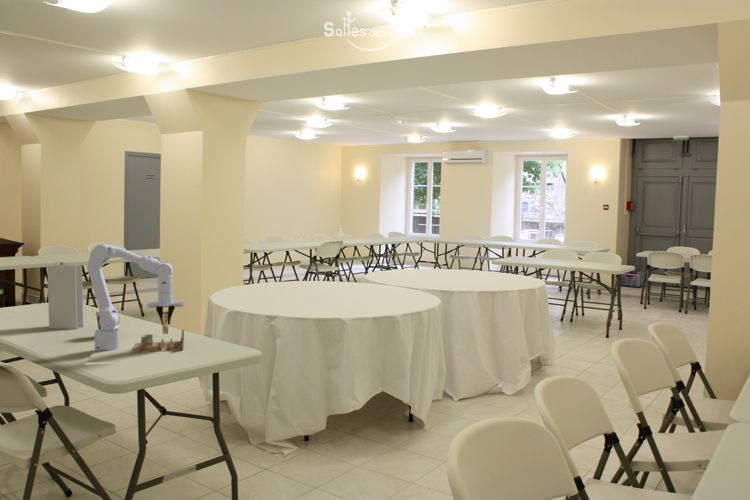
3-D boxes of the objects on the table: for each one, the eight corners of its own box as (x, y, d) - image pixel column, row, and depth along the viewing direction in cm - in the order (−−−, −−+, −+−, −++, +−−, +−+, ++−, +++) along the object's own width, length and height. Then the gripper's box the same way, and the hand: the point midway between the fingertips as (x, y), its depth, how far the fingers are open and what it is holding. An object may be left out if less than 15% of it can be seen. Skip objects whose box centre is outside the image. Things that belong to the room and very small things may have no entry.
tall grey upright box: (83, 326, 307) (82, 265, 305) (77, 329, 301) (75, 266, 299) (56, 325, 308) (54, 264, 306) (49, 328, 303) (47, 266, 300)
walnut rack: (130, 355, 252) (130, 340, 251) (135, 345, 269) (135, 331, 269) (182, 352, 257) (182, 338, 257) (184, 343, 274) (184, 329, 274)
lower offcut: (141, 349, 258) (141, 343, 258) (142, 345, 265) (142, 339, 264) (151, 349, 259) (151, 343, 259) (152, 345, 266) (152, 339, 265)
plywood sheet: (162, 334, 258) (162, 314, 257) (164, 329, 268) (163, 310, 267) (167, 333, 259) (167, 314, 258) (169, 328, 268) (168, 310, 268)
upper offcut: (141, 343, 258) (141, 337, 258) (142, 340, 263) (142, 334, 263) (151, 342, 259) (151, 336, 259) (152, 340, 264) (152, 334, 264)
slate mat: (148, 344, 272) (148, 343, 272) (150, 337, 284) (150, 336, 284) (177, 342, 275) (177, 341, 275) (178, 336, 287) (178, 335, 287)
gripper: (145, 294, 256) (146, 326, 257) (183, 293, 260) (183, 325, 261) (147, 291, 263) (148, 323, 264) (183, 290, 267) (184, 322, 268)
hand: (165, 324), depth 263 cm, fingers closed on plywood sheet, 2 cm apart
